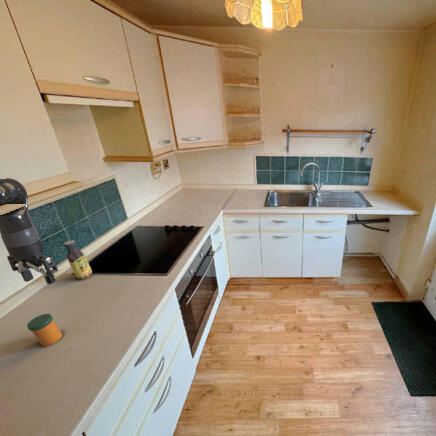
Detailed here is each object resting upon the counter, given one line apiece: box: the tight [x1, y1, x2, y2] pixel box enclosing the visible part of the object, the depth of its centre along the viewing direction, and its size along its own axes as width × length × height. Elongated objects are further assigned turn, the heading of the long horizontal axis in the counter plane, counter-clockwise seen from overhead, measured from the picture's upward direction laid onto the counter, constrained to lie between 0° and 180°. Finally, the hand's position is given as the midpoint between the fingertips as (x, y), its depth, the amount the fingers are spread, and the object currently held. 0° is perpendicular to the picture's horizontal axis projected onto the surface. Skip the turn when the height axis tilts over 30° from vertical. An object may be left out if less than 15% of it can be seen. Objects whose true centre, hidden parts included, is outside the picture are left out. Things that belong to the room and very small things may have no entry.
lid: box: [26, 313, 54, 332], centre depth 80 cm, size 6×6×2 cm
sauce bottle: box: [63, 239, 93, 281], centre depth 111 cm, size 6×6×20 cm
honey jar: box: [31, 319, 63, 347], centre depth 82 cm, size 6×6×9 cm
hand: (40, 281), depth 80 cm, fingers open, 8 cm apart
